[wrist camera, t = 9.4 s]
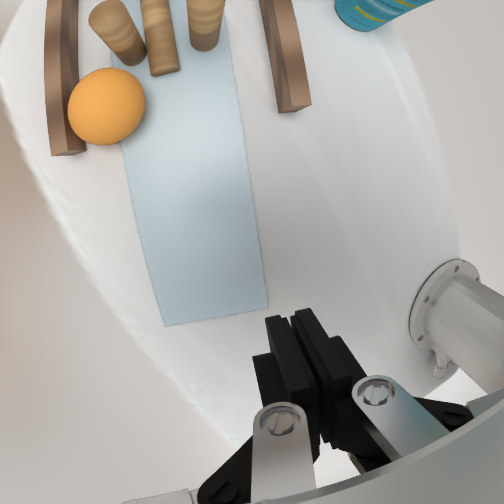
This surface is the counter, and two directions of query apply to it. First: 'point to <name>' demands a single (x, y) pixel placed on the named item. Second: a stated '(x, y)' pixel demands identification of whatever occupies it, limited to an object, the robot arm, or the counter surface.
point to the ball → (106, 106)
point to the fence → (67, 77)
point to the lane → (193, 182)
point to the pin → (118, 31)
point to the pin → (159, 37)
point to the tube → (373, 11)
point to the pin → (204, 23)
